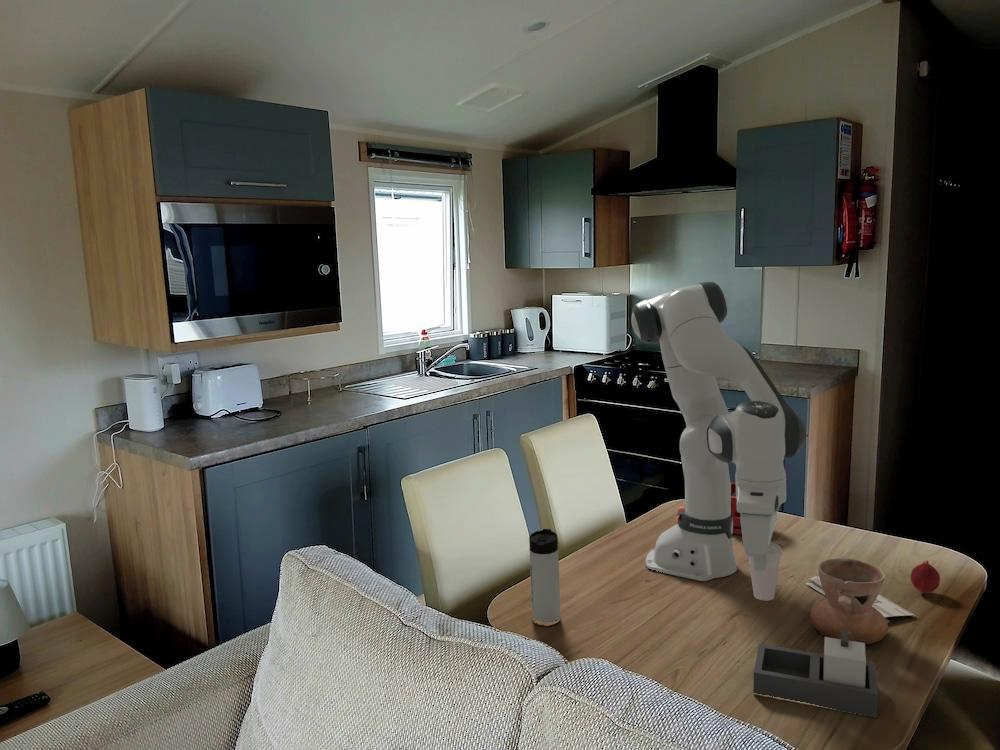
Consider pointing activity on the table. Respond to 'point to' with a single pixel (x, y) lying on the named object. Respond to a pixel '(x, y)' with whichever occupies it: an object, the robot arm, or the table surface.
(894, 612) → the newspaper
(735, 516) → the plant pot
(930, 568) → the onion
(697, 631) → the table surface
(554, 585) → the travel mug
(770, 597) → the smoothie
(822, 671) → the dark grey slotted box
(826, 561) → the ceramic jug
